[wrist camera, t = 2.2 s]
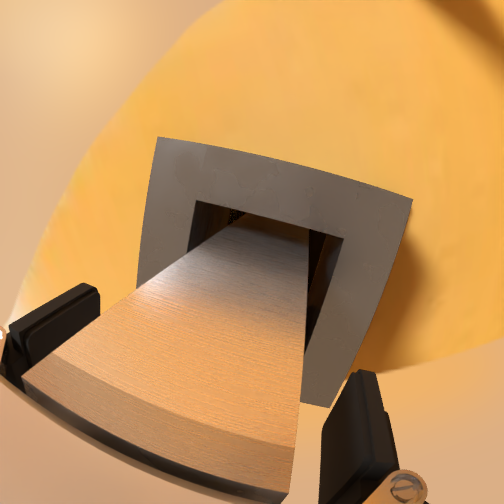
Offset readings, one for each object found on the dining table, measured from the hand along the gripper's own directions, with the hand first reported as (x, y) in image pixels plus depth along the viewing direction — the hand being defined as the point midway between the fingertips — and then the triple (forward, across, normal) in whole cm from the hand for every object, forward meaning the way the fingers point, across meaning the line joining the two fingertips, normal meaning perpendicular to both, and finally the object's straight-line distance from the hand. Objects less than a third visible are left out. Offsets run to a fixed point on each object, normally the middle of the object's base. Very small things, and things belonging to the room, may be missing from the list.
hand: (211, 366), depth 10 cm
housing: (+16, 0, 0) cm, 16 cm away
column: (+16, 0, 0) cm, 16 cm away
